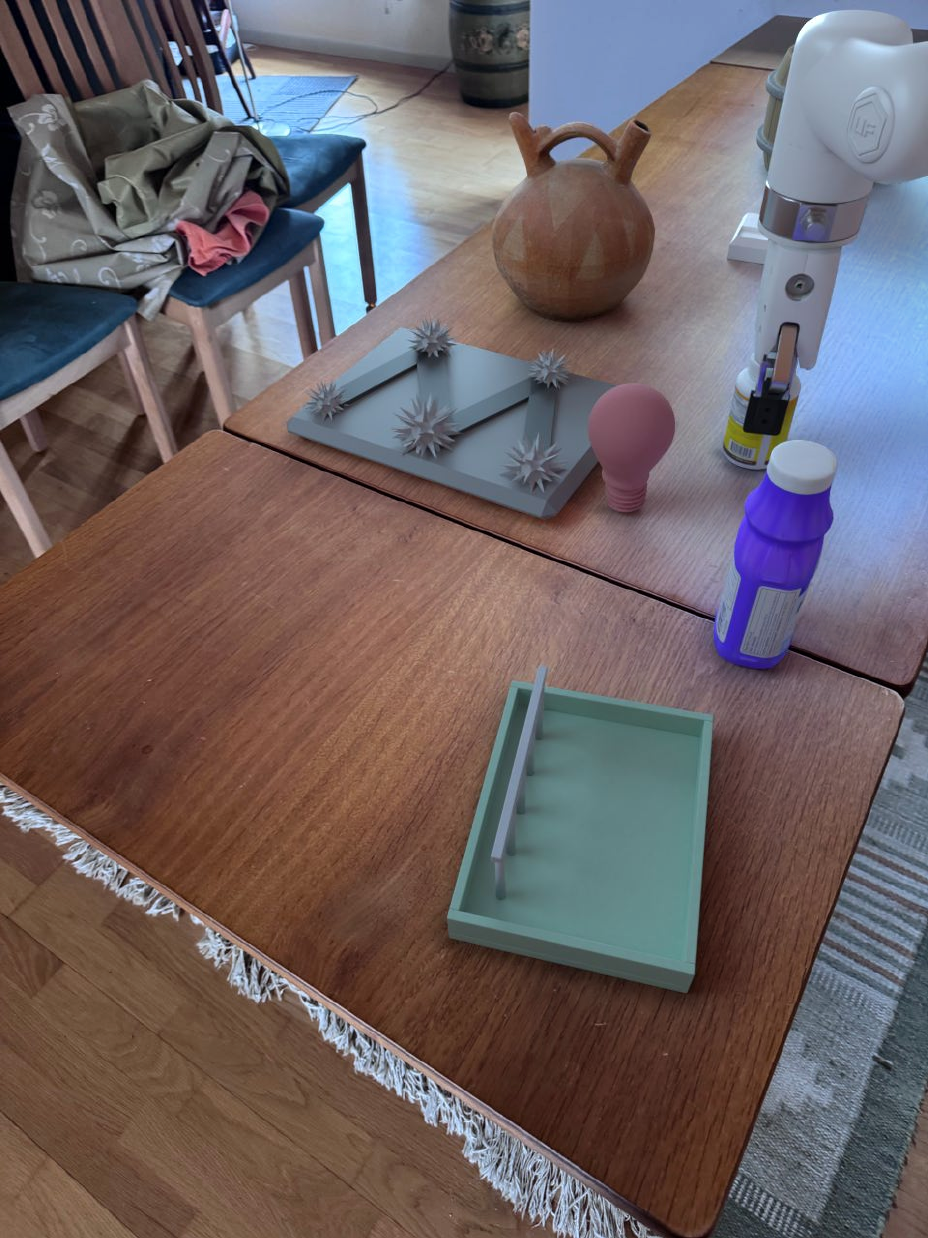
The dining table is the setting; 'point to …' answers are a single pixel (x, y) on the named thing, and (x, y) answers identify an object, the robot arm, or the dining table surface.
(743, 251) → the white stepped block
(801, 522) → the bottle
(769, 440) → the supplement bottle
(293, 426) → the decorative plate
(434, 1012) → the dining table surface
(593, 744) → the dish rack
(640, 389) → the light bulb
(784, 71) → the mug
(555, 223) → the jug
